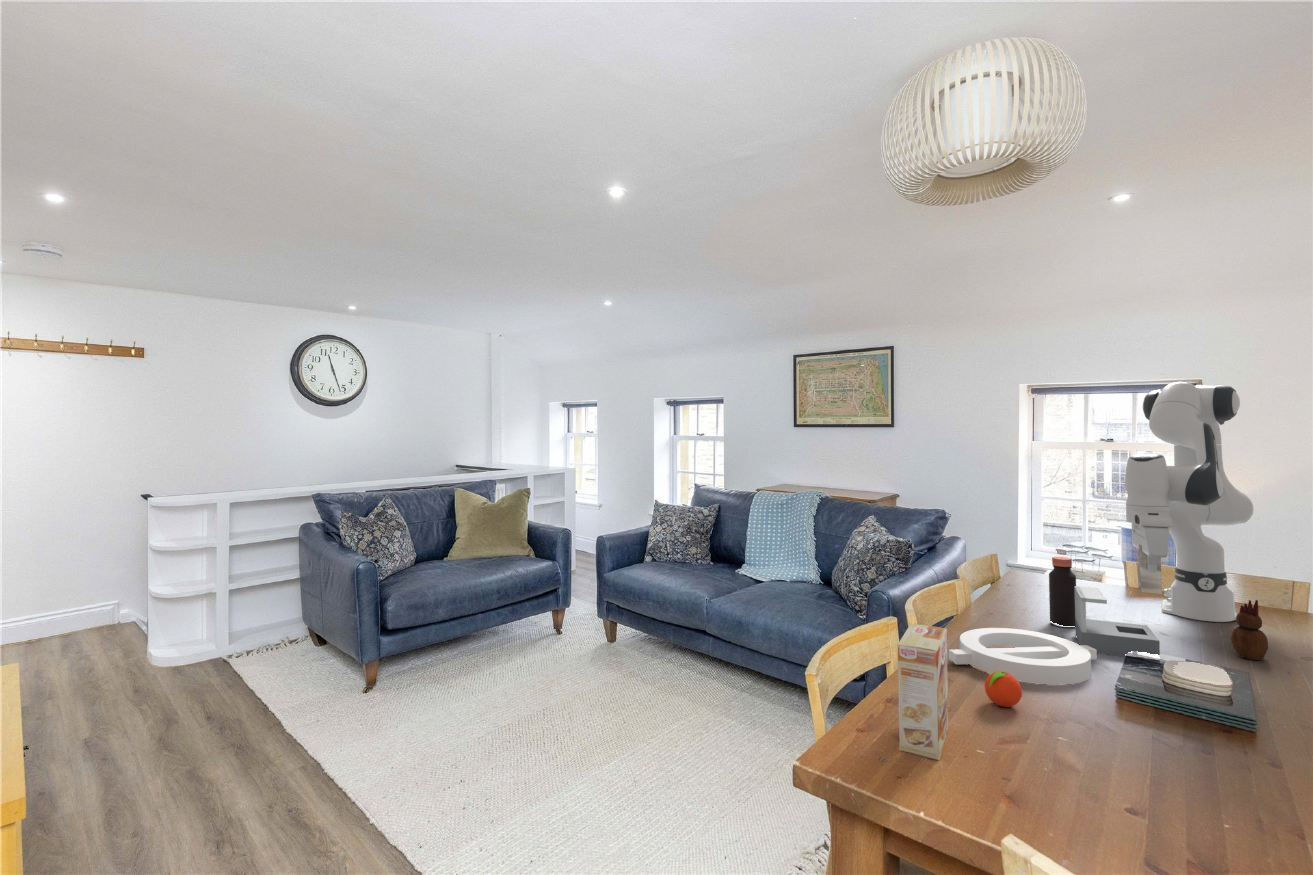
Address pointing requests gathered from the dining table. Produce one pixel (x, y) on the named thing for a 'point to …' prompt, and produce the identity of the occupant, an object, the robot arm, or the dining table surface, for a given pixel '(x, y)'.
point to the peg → (1148, 574)
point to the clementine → (1003, 689)
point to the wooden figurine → (1249, 634)
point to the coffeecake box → (923, 690)
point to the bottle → (1062, 592)
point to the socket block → (1110, 629)
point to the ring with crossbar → (1026, 655)
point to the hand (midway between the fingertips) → (1149, 569)
